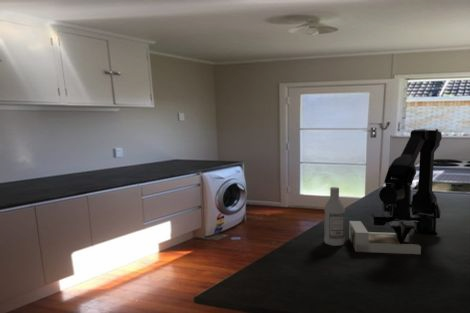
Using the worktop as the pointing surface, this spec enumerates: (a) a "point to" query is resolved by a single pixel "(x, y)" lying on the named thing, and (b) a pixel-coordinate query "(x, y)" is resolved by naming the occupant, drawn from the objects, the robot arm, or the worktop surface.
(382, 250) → the canopy channel
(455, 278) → the worktop surface
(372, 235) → the tan wooden block
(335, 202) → the bath foam
